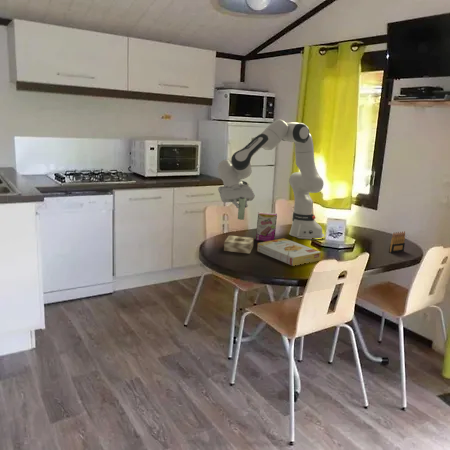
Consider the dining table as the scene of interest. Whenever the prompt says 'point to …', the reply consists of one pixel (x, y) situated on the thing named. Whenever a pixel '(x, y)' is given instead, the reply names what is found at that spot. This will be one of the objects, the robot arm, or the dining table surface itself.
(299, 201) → the robot arm
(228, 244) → the block with square hole
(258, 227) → the candy bar box
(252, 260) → the dining table surface
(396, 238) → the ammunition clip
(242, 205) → the bottle
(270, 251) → the cereal box
